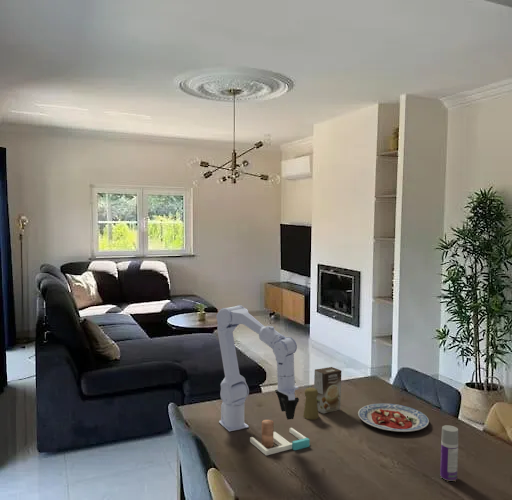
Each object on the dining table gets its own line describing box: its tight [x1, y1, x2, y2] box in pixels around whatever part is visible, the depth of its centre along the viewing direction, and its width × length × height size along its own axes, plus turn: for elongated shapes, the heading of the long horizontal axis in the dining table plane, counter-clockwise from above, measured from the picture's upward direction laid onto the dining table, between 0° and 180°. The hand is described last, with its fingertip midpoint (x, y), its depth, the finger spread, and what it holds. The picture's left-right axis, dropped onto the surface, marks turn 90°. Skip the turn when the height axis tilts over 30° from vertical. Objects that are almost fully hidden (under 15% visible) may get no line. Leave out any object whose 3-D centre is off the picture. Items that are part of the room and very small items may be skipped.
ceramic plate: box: [357, 402, 430, 433], centre depth 184 cm, size 26×26×3 cm
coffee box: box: [313, 366, 342, 414], centre depth 195 cm, size 9×6×16 cm
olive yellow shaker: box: [302, 387, 320, 421], centre depth 187 cm, size 6×6×11 cm
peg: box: [261, 419, 275, 449], centre depth 163 cm, size 4×4×8 cm
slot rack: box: [249, 427, 311, 456], centre depth 164 cm, size 12×17×2 cm
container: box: [439, 424, 459, 481], centre depth 143 cm, size 5×5×15 cm
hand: (287, 414), depth 163 cm, fingers open, 7 cm apart
